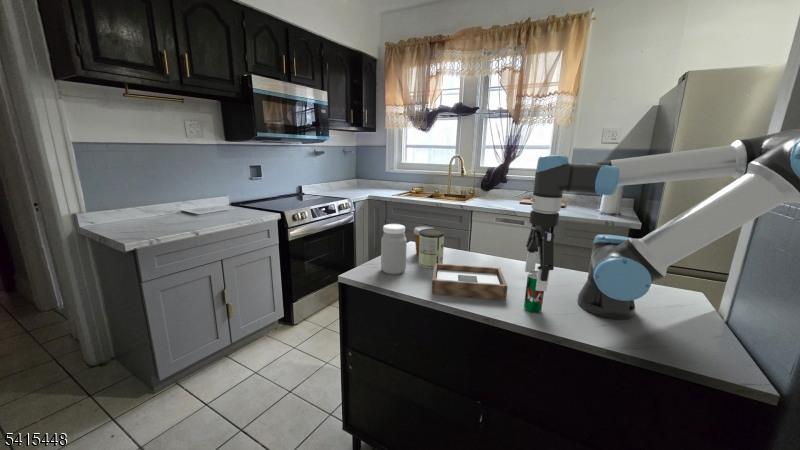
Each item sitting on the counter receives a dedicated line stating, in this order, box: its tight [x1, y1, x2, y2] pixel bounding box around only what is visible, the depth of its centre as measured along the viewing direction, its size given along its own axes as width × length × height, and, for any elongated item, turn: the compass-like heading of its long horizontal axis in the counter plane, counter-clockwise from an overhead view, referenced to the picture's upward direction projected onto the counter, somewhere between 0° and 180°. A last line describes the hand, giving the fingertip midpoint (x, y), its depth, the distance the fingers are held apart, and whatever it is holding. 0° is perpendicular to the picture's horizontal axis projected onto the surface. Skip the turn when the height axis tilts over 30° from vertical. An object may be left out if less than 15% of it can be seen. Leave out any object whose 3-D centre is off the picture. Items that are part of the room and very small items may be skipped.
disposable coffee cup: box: [413, 225, 434, 257], centre depth 146 cm, size 10×10×12 cm
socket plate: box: [436, 270, 500, 284], centre depth 114 cm, size 21×13×3 cm, turn 81°
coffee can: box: [418, 228, 446, 269], centre depth 133 cm, size 10×10×14 cm
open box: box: [431, 263, 508, 301], centre depth 113 cm, size 24×16×5 cm, turn 81°
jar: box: [380, 223, 408, 275], centre depth 125 cm, size 10×10×18 cm
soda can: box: [523, 270, 545, 314], centre depth 97 cm, size 5×5×12 cm
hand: (534, 280), depth 97 cm, fingers open, 13 cm apart
